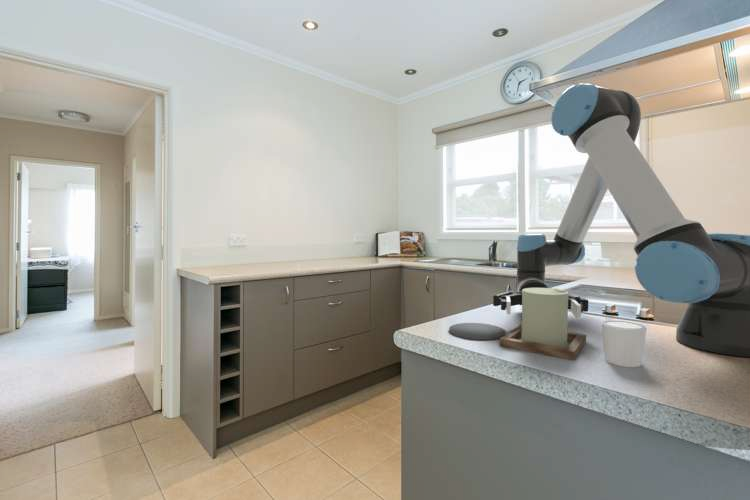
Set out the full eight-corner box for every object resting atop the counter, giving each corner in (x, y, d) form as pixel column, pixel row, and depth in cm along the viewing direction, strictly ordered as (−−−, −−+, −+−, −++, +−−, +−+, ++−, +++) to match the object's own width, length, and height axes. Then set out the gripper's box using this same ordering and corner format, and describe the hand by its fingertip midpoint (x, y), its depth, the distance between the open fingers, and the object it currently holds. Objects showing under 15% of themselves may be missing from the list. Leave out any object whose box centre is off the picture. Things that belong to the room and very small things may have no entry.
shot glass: (653, 369, 64) (655, 330, 64) (611, 367, 66) (612, 328, 65) (633, 356, 71) (634, 320, 71) (594, 354, 72) (595, 319, 72)
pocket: (586, 341, 80) (586, 334, 80) (573, 360, 69) (574, 351, 69) (520, 331, 89) (520, 324, 89) (499, 345, 78) (499, 338, 78)
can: (574, 352, 74) (575, 293, 73) (525, 349, 75) (526, 291, 75) (560, 338, 83) (561, 285, 82) (517, 336, 84) (518, 284, 84)
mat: (513, 330, 89) (513, 328, 89) (493, 343, 79) (493, 341, 79) (463, 322, 97) (463, 320, 97) (439, 333, 87) (439, 331, 87)
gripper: (586, 310, 94) (610, 332, 74) (484, 304, 102) (481, 323, 82) (586, 281, 94) (611, 295, 74) (484, 277, 102) (481, 289, 82)
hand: (542, 309), depth 78 cm, fingers open, 13 cm apart
